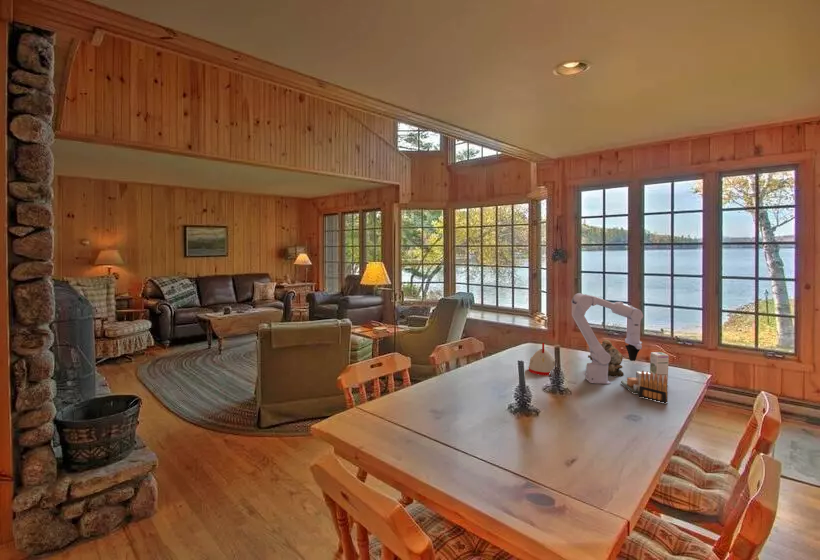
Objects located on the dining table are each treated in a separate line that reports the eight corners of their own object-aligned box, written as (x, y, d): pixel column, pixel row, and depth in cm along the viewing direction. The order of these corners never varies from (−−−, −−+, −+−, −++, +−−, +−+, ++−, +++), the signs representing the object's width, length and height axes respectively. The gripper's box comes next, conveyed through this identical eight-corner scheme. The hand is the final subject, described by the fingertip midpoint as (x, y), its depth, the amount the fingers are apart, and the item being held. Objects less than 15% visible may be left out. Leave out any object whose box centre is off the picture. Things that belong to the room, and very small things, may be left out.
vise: (633, 394, 184) (634, 386, 184) (620, 383, 198) (621, 376, 198) (662, 395, 183) (662, 387, 183) (647, 384, 197) (647, 377, 197)
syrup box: (668, 385, 196) (669, 354, 195) (655, 385, 196) (656, 354, 195) (661, 381, 202) (662, 351, 201) (648, 381, 202) (650, 351, 201)
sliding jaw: (630, 386, 190) (630, 380, 190) (627, 383, 194) (627, 377, 194) (653, 387, 189) (654, 380, 188) (649, 384, 193) (650, 378, 192)
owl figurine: (582, 370, 220) (583, 338, 218) (593, 366, 227) (593, 335, 226) (618, 378, 206) (619, 344, 205) (627, 373, 214) (629, 341, 213)
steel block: (647, 387, 189) (647, 371, 188) (650, 389, 186) (650, 373, 186) (635, 386, 190) (636, 371, 189) (638, 388, 187) (639, 373, 186)
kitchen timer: (528, 374, 214) (529, 345, 213) (529, 366, 227) (529, 339, 226) (557, 376, 210) (558, 347, 209) (556, 368, 223) (556, 341, 222)
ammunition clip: (638, 397, 180) (639, 370, 179) (640, 396, 182) (641, 369, 181) (665, 404, 172) (667, 376, 171) (667, 403, 173) (668, 375, 172)
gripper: (649, 336, 192) (648, 364, 193) (635, 329, 206) (634, 356, 207) (632, 335, 193) (632, 364, 194) (620, 329, 207) (619, 356, 208)
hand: (632, 360), depth 200 cm, fingers closed
